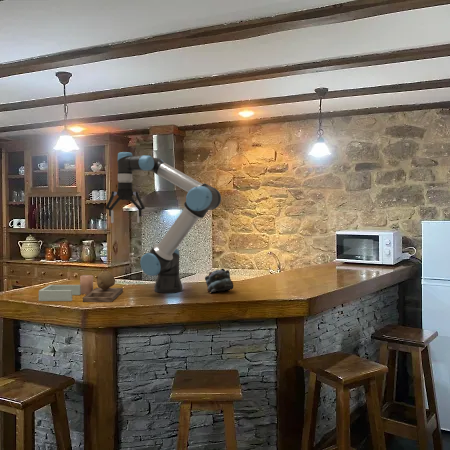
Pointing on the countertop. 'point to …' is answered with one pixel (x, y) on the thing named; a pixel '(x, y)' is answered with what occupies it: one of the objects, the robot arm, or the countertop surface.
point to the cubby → (59, 292)
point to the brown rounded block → (86, 284)
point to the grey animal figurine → (219, 281)
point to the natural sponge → (105, 280)
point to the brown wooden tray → (103, 295)
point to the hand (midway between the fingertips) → (125, 222)
